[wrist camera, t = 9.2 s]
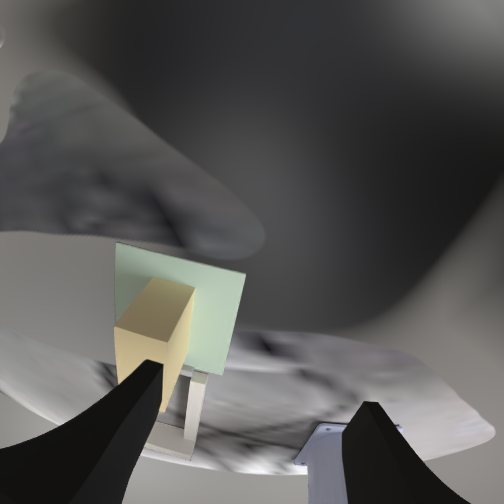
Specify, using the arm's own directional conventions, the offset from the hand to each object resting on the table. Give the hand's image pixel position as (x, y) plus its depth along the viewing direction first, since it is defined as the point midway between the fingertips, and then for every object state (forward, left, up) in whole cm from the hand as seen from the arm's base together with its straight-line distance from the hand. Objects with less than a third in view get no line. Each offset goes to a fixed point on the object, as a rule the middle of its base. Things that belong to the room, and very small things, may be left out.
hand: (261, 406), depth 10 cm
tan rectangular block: (+6, +5, -10) cm, 13 cm away
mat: (+6, +5, -10) cm, 13 cm away
